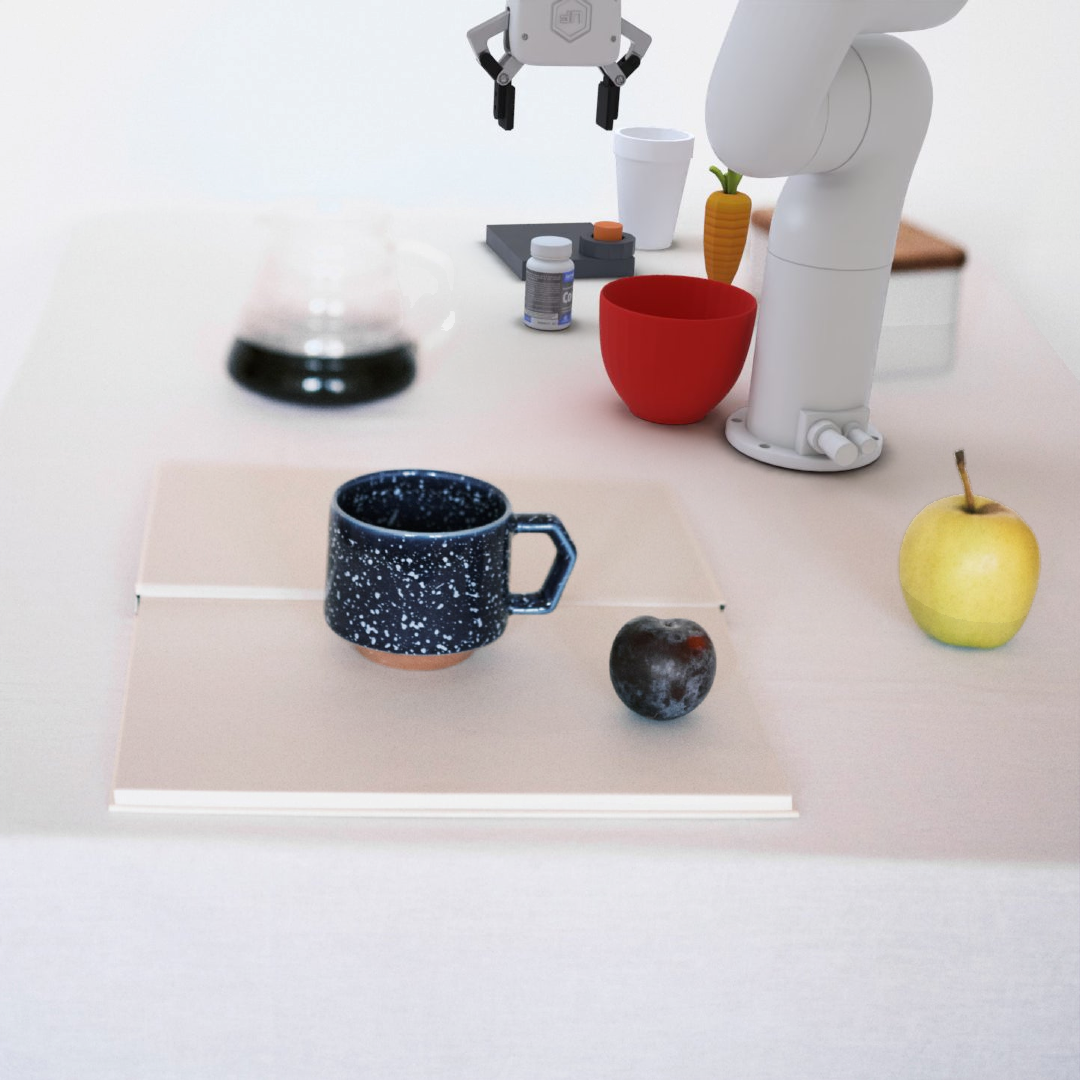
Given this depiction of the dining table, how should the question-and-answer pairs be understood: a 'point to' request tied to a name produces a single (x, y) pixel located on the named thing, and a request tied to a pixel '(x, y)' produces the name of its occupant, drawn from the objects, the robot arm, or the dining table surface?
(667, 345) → the ceramic cup
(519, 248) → the scale
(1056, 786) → the dining table surface
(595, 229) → the button
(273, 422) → the dining table surface
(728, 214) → the carrot
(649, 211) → the foam cup
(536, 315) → the pill bottle
